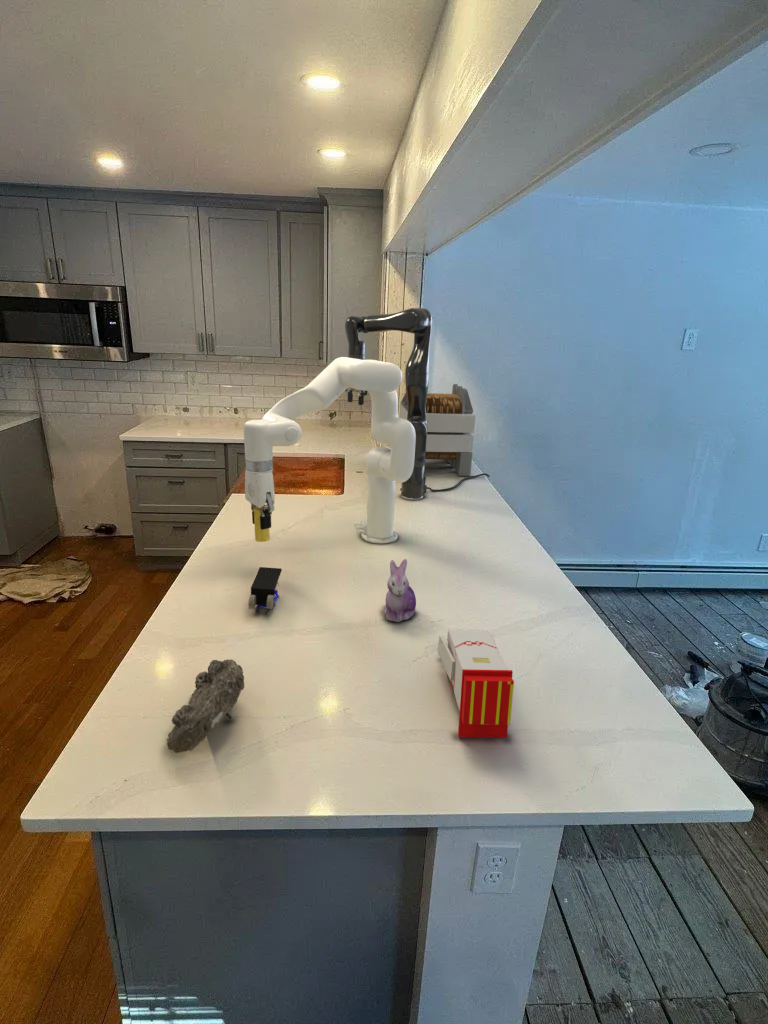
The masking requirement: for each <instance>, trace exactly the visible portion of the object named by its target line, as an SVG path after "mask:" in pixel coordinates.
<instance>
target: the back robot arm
mask: <svg viewBox="0 0 768 1024" xmlns="http://www.w3.org/2000/svg"><path fill="white" fill-rule="evenodd" d="M432 325H433V319H432V313H431V312H430V310H429V309H427V308H425V307H410V308H407V309H403V310H401V311H399V312H398V311H397V312H395V313H377V314H376V313H375V314H369V315H351V316H348V317H347V318H346V320H345V323H344V330H345V335H346V339H347V343H348V350H347V351H348V353H347V357H348V358H355V359H361V360H366V342H365V341H364V340H362V339H360V337H359V335H364V334H376V333H377V334H379V333H386V332H391V331H395V332H396V331H398V332H404V333H407V334H408V333H409V334H413V348H412V351H411V353H410V355H409V357H408V360H407V363H406V365H405V369H404V370H405V371H404V373H405V374H404V375H405V376H404V377H405V378H404V385H405V393H406V395H407V401H408V414H407V420H408V421H409V422H410V423H411V424H412V425H413V427H414V429H415V433H416V443H415V459H414V468H413V472H412V475H411V476H410V478H409V479H408V480H407V481H405V482H402V483H401V487H400V490H399V491H400V498H402V499H404V500H408V501H419V500H422V499H423V498H425V497H426V496H425V495H426V494H427V491H428V490H429V491H430V492H434V493H436V492H445V491H446V492H447V491H451V490H454V489H456V488H457V487H458V486H459V485H461V484H462V482H464V481H466V480H468V479H475V478H478V477H482V476H486V477H487V478H490V477H491V476H490V475H489V474H488V473H485V472H484V473H479V474H476V475H472V476H471V475H470V476H465V477H464V478H462V479H461V480H459V482H458V483H456V484H455V485H454V486H451V487H447V488H442V489H432V487H430V486H428V485H426V484H427V483H426V481H427V475H426V474H425V469H426V459H425V456H426V440H427V430H428V428H427V419H426V399H427V393H428V391H429V379H430V377H429V375H430V374H429V373H430V371H429V369H430V367H429V366H430V345H431V344H430V343H431V337H432V329H433V328H432V327H433V326H432ZM354 391H355V392H357V395H358V400H357V401H358V403H357V405H358V406H364V403H365V402H364V401H365V396H368V391H365V390H357V389H353V388H347V389H346V390H345V391H344V392H346V394H347V403H353V402H354V401H353V400H354V394H353V393H354Z"/></svg>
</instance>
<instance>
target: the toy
mask: <svg viewBox="0 0 768 1024" xmlns="http://www.w3.org/2000/svg"><path fill="white" fill-rule="evenodd" d="M446 640H447V643H446V641H445V639H444V636H443V635H442V634H439V637H438V646H437V656H438V657H439V659H440V661H441V663H442V666H443V668H444V670H445V672H446V674H447V677H448V679H449V681H450V684H451V687H452V690H453V693H454V697H455V701H456V705H457V708H458V711H459V714H458V715H459V716H458V730H457V731H458V732H457V737H458V738H508V731H509V726H510V725H511V717H512V707H513V697H514V696H513V695H514V684H515V680H514V679H513V673H514V671H513V670H512V669H508V667H507V665H506V662H505V661H504V659H503V658H502V655H501V653H500V651H499V649H498V647H497V643H496V639H495V637H494V635H493V634H491V632H490V631H489V629H467V628H466V629H465V628H463V629H461V628H460V629H459V628H448V630H447V639H446Z"/></svg>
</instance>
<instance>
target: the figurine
mask: <svg viewBox="0 0 768 1024" xmlns="http://www.w3.org/2000/svg"><path fill="white" fill-rule="evenodd" d="M407 567H408V559H406V558H404V559H403V560H402V561H401V563H400V565H399V566H398V565H397V563H396V562H395V561H394V560H393V559H391V560H390V561H389V570H390V576H389V578H388V579H387V589H388V591H387V592H386V594H385V595H386V596H385V607H384V615H385V616H386V620H387V621H391V622H395V623H400V622H402V621H406V620H409V619H410V618H411V617H413V616H414V615H415V610H416V606H417V597H416V593H415V591H414V590H413V587H411V586H410V582H409V579H408V577H407V574H406V571H407Z"/></svg>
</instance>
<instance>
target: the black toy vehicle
mask: <svg viewBox="0 0 768 1024" xmlns="http://www.w3.org/2000/svg"><path fill="white" fill-rule="evenodd" d="M282 572H283V571H282V568H279V567H278V568H277V567H266V566H265V567H264V566H259V568H258V570H257V572H256V575H255V577H254V580H253V582H252V584H251V586H250V595H249V597H248V609H249V610H250V609H251V610H254V609H255V611H254V613H255V614H258V613H259V611H260V608H266V612H265V613H266V614H269V613H270V610H272V609H273V607H275V602H276V601H277V600H278V599H279V598H280V595H279V594H278V593H279V591H278V590H279V579H280V576H281V573H282Z"/></svg>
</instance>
